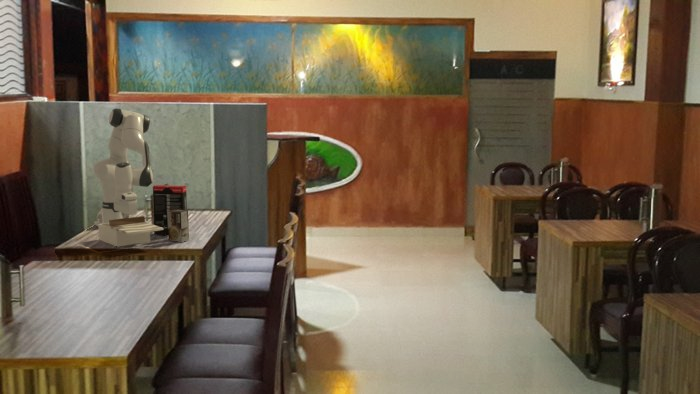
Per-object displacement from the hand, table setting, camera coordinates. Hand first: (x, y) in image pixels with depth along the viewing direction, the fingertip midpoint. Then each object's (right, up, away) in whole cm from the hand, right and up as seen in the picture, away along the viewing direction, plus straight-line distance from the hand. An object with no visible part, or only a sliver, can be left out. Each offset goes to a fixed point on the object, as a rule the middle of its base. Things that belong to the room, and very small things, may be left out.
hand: (125, 221), depth 379 cm
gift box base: (-1, -11, +3) cm, 11 cm away
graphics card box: (+18, -8, +21) cm, 29 cm away
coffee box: (+26, -11, +7) cm, 29 cm away
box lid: (+8, -4, -9) cm, 13 cm away
